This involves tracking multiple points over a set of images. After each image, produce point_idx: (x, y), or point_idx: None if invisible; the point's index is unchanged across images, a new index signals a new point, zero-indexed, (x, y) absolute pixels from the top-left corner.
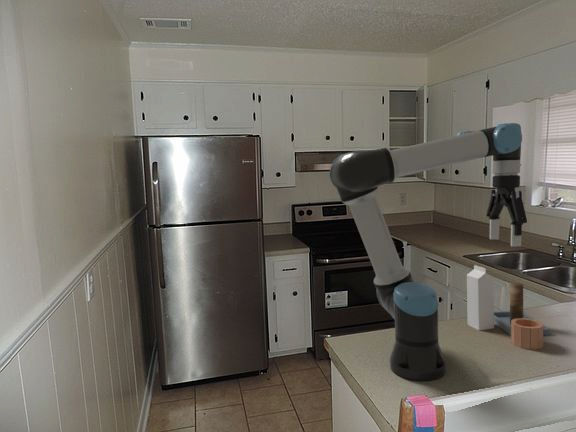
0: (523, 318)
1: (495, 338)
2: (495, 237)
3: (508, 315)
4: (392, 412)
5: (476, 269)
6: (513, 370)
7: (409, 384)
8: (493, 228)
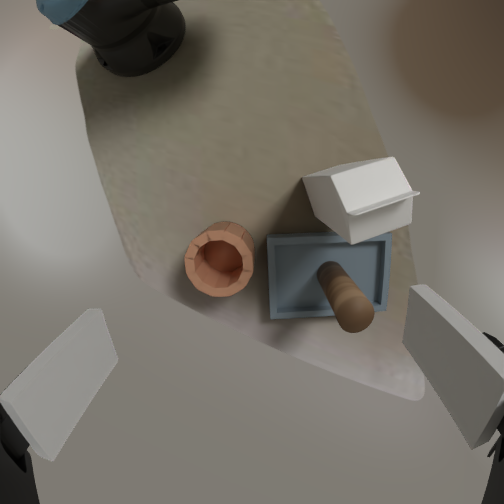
0: (250, 270)
1: (270, 202)
2: (411, 326)
3: (380, 277)
4: (51, 29)
5: (399, 195)
6: (127, 185)
7: None
8: (451, 352)
